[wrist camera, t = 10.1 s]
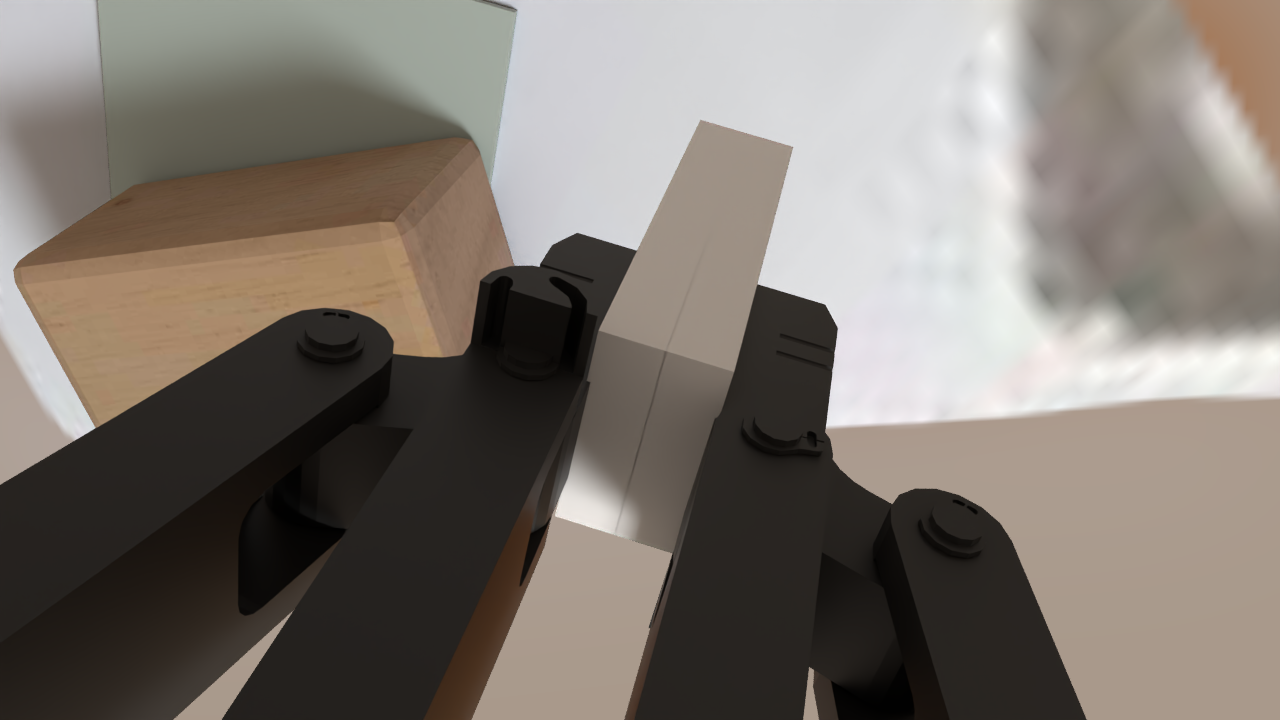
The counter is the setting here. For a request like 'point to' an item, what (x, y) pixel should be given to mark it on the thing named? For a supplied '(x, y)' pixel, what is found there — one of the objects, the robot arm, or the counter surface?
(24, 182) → the counter surface
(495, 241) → the wooden block
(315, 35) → the mat
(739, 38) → the counter surface
